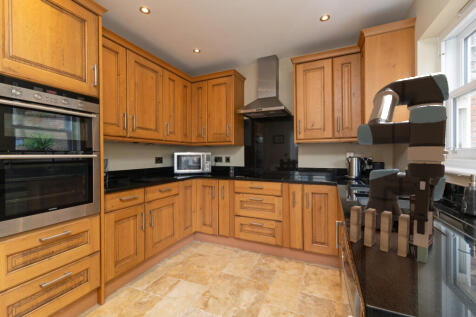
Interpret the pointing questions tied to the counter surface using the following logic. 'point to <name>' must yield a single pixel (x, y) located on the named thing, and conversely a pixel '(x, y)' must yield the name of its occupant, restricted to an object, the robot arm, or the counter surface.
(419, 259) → the grey-green domino
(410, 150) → the robot arm
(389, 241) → the birch domino
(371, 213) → the birch domino
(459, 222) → the counter surface
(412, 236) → the supplement box
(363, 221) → the perforated stone tool
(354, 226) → the birch domino
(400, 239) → the birch domino
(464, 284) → the counter surface
